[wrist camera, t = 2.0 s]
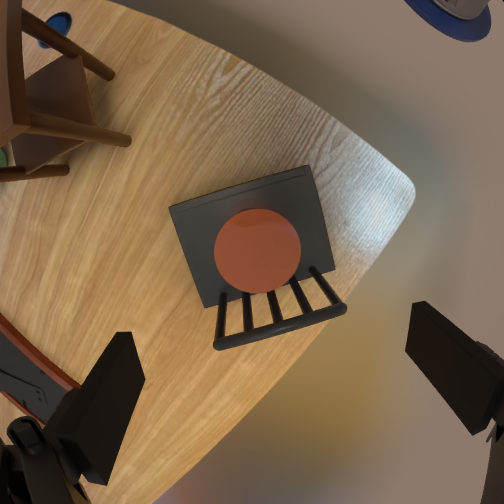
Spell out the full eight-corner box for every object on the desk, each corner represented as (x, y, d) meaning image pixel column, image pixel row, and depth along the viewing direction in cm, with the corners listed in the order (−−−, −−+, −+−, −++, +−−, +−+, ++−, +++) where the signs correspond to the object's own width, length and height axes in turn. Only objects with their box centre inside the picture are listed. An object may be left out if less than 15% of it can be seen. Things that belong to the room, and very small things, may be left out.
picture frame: (-15, 369, 44) (70, 441, 49) (-20, 373, 42) (67, 447, 47) (0, 312, 41) (103, 401, 46) (-6, 317, 39) (99, 408, 44)
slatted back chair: (308, 164, 37) (343, 162, 24) (333, 267, 41) (373, 310, 28) (169, 206, 38) (136, 225, 25) (205, 305, 41) (193, 363, 28)
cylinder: (275, 191, 37) (288, 198, 27) (292, 252, 39) (309, 279, 29) (211, 210, 37) (202, 224, 28) (231, 270, 39) (229, 303, 30)
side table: (114, 66, 33) (8, -11, 9) (135, 145, 36) (13, 124, 12) (44, 104, 33) (-80, 78, 10) (61, 179, 36) (-73, 201, 13)
